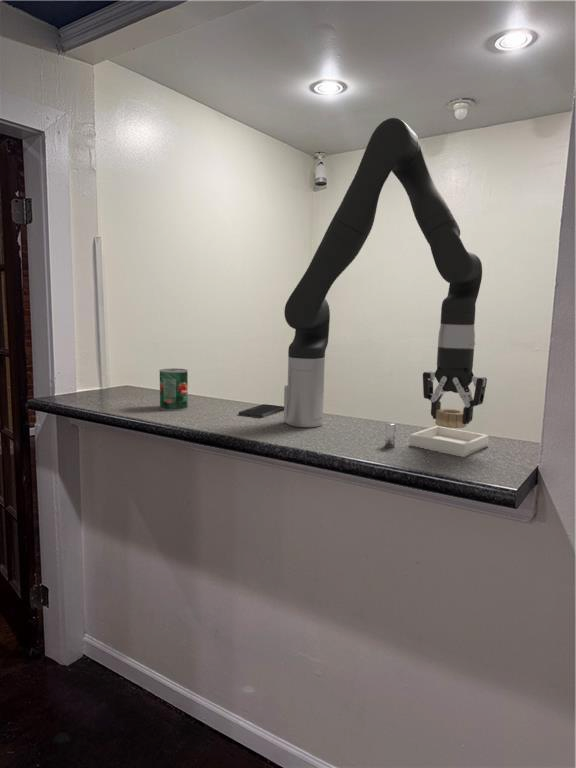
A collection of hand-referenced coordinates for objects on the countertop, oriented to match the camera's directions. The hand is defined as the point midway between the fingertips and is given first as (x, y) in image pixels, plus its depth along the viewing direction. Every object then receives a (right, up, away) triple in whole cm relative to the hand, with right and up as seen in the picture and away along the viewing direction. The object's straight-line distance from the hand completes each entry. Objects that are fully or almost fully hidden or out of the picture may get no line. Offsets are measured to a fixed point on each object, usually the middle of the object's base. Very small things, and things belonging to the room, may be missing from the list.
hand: (451, 420), depth 119 cm
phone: (-43, 0, +33) cm, 55 cm away
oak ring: (0, -1, 0) cm, 1 cm away
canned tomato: (-69, +1, +36) cm, 78 cm away
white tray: (0, -6, +1) cm, 6 cm away
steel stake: (-14, -5, -1) cm, 15 cm away
